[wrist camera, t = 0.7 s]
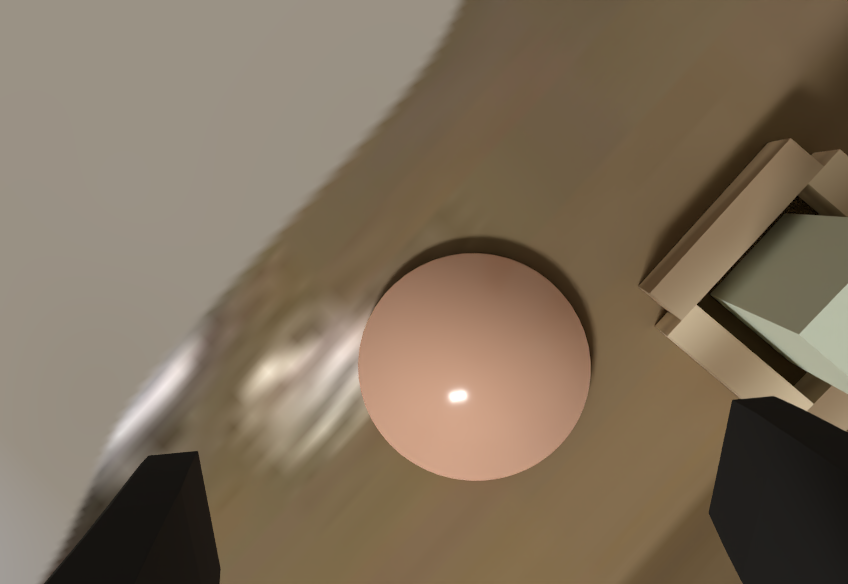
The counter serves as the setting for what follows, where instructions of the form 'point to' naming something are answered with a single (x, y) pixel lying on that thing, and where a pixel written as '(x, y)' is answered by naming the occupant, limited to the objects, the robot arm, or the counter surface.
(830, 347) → the sage peg
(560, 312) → the terracotta coaster
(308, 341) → the counter surface
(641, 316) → the counter surface
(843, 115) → the counter surface
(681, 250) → the oak holder
